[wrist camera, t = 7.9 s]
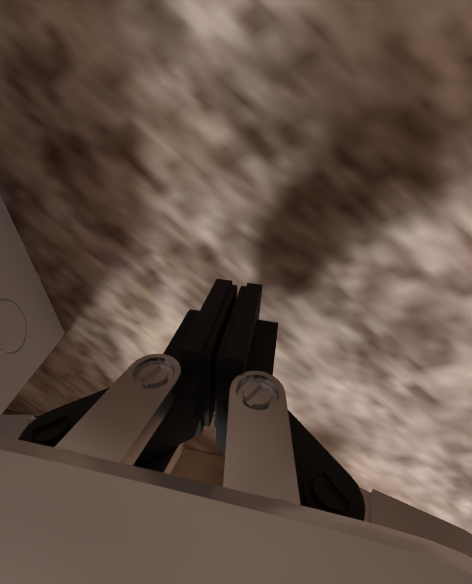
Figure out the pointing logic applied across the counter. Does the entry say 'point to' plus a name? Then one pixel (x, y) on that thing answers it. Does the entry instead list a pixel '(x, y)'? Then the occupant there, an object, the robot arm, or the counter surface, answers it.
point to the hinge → (21, 314)
